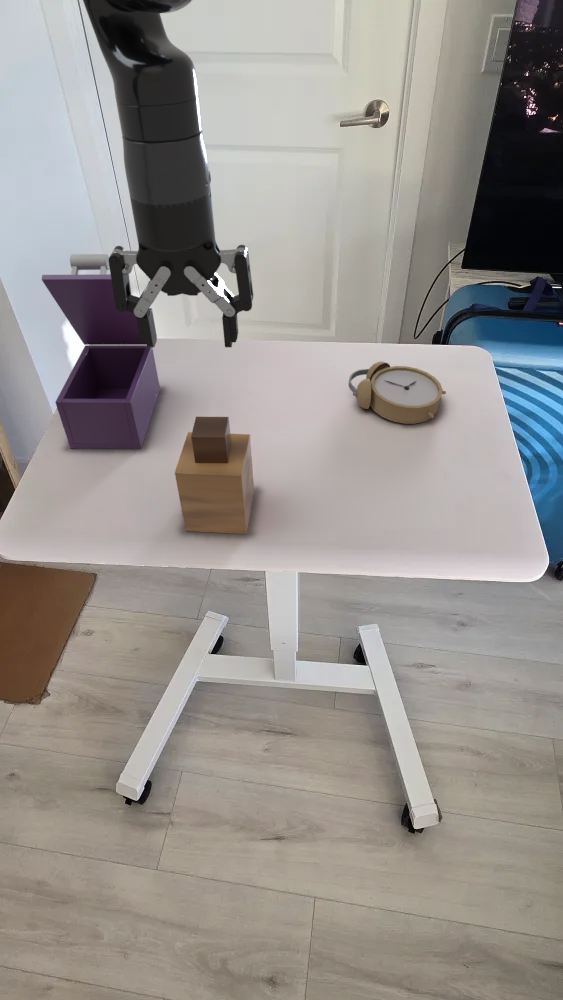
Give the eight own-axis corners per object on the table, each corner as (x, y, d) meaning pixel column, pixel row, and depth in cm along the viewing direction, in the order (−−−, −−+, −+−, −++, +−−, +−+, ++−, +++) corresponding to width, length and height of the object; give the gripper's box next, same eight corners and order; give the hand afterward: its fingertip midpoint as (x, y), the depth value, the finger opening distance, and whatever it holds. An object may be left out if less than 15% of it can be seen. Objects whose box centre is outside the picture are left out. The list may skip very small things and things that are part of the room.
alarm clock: (433, 416, 92) (341, 380, 95) (423, 441, 96) (334, 405, 99) (452, 378, 100) (366, 345, 103) (442, 402, 103) (359, 370, 106)
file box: (141, 449, 93) (130, 402, 88) (70, 448, 94) (54, 402, 88) (160, 390, 105) (152, 345, 99) (96, 389, 105) (85, 345, 100)
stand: (246, 534, 80) (241, 475, 73) (185, 531, 81) (174, 472, 74) (254, 492, 86) (250, 434, 79) (197, 489, 87) (187, 431, 80)
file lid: (121, 279, 83) (125, 244, 84) (41, 279, 83) (46, 245, 85) (151, 344, 99) (154, 314, 100) (84, 344, 99) (87, 315, 101)
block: (228, 463, 75) (225, 436, 72) (195, 463, 75) (190, 436, 72) (231, 442, 78) (228, 416, 75) (199, 442, 78) (195, 416, 75)
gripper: (83, 202, 56) (119, 362, 67) (243, 199, 55) (253, 361, 66) (103, 176, 61) (134, 328, 72) (248, 173, 60) (257, 327, 72)
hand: (190, 344), depth 69 cm, fingers open, 8 cm apart
